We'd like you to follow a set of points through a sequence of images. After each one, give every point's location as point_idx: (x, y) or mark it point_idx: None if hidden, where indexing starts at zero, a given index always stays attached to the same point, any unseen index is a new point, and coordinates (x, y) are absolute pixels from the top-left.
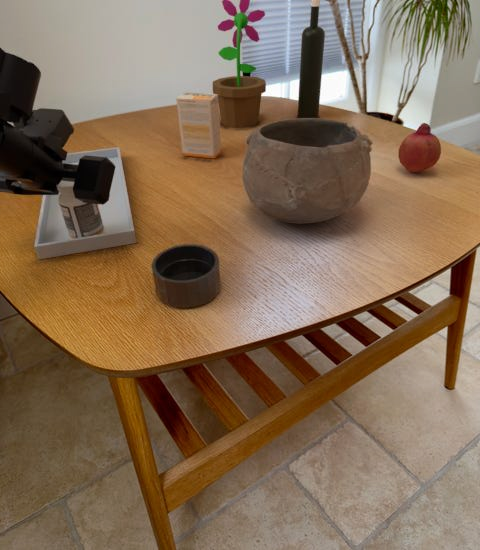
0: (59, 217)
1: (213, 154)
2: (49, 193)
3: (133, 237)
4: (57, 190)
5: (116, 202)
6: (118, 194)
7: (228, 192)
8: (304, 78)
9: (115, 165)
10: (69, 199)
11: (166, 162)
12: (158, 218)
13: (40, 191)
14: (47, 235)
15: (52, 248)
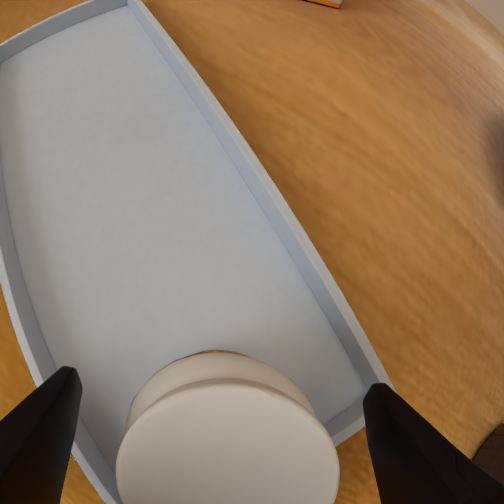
0: (66, 305)
1: (339, 1)
2: (68, 446)
3: None
4: (75, 390)
5: (211, 182)
6: (195, 137)
7: (441, 122)
8: None
9: (130, 26)
10: None
11: (245, 8)
12: (375, 250)
13: (53, 498)
14: (89, 419)
15: None
